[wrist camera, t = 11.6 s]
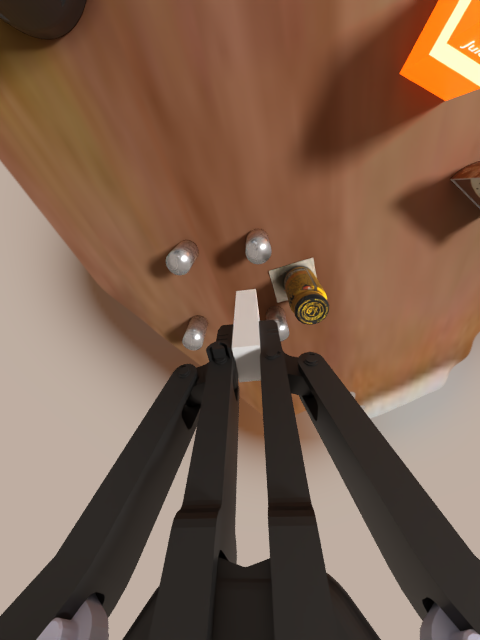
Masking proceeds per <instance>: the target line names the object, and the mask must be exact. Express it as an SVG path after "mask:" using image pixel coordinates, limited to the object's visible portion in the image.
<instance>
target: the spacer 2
mask: <svg viewBox="0 0 480 640" xmlns="http://www.w3.org/2000/svg"><path fill="white" fill-rule="evenodd" d="M207 326H208V322H207V320H206V319H205V318H204V317H203V316H199V315H197V316H194V317H192V318H191V320H190V322H189V325H188V327H187V330H186V332H185V335H184V337H183V340H182V342H183V345H184V346H185V347H186V348H187V349H189V350H198V349H200V348H201V347H202V344H203V341H204V337H205V333H206V330H207Z"/></svg>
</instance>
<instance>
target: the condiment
mask: <svg viewBox="0 0 480 640" xmlns="http://www.w3.org/2000/svg"><path fill="white" fill-rule="evenodd" d="M269 274H270V277H271V281H272V284H273V288H274V292H275V295H276V299H277V302H282V301H286V300H288V301H289V305H290V308H291V310H292V311H293V312H294V313H295V316H296V318H297V319H298V320H299V321H300V322H301V323H303V324H309V325H311V324H316V323H319V322H321V321H322V320H323V319H325V318H326V316H327V314H328V312H329V304H328V302H327V296H326V293H325V291H324V290H323V288H322V287H321V285H320V283H319V281H318V280H317V278H316V272H315V266H314V260H313V258H310V259H307V260H303V261H300V262H296V263H293V264H290V265H287V266H284V267H280V268H277V269H274V270H271V271H269ZM284 290H285V291H284Z"/></svg>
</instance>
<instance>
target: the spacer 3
mask: <svg viewBox="0 0 480 640" xmlns="http://www.w3.org/2000/svg"><path fill="white" fill-rule="evenodd" d="M270 256H271V246H270V242H269V238H268V235H267V233H266V232H265V231H264V230H262V229H253V230H252V231H250V232H249V233H248V235H247V238H246V257H247V258H248V260H249V261H250V262H252V263H254V264H262V263H265V262H266V261H267V260H268V259H269V258H270Z"/></svg>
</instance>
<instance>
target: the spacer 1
mask: <svg viewBox="0 0 480 640" xmlns="http://www.w3.org/2000/svg"><path fill="white" fill-rule="evenodd" d="M198 254H199V250H198V247H197V245H196V244H195V243H194V242H192V241H190V240H183V241H181V242H180V243H179V244H178V245H177V246H176V247H175V248H174V249H173V250H172V251H171V252H170V253H169V254H168V255H167V257H166V265H167V268H168V269H169V270H170V271H171V272H172V273H174V274H176V275H184V274H186V273H187V272H188V271H189V270H190V268H191V266H192V265H193V263H194V262H195V260H196V258H197V257H198Z"/></svg>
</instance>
